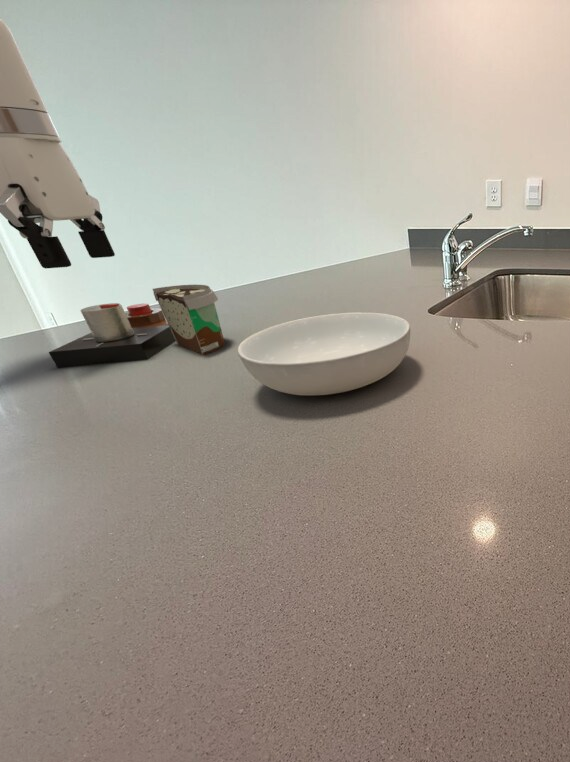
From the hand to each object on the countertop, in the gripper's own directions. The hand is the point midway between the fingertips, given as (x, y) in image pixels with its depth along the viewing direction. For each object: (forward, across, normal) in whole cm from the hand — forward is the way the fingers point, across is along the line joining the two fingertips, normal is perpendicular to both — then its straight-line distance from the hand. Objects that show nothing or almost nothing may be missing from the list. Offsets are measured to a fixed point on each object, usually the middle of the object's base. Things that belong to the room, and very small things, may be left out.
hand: (82, 261), depth 61 cm
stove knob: (+12, 0, -1) cm, 12 cm away
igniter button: (+11, -12, -3) cm, 17 cm away
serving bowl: (+16, +21, +36) cm, 45 cm away
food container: (+15, 0, +12) cm, 20 cm away
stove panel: (+15, 0, -1) cm, 15 cm away
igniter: (+15, -12, -3) cm, 19 cm away
